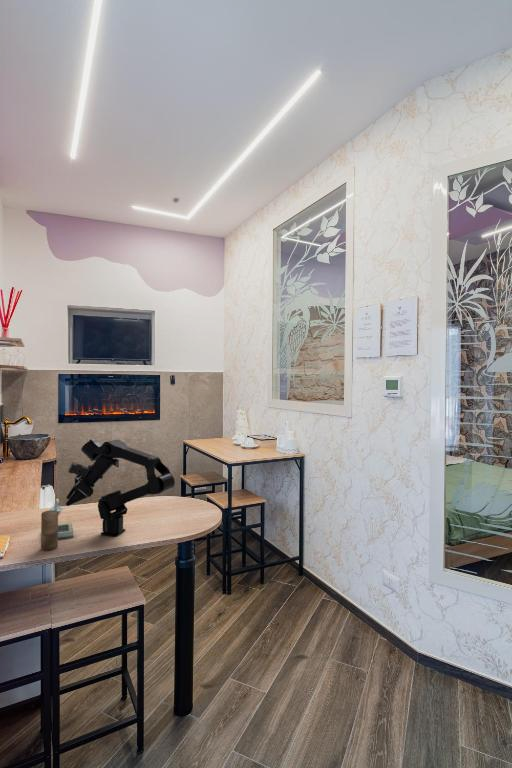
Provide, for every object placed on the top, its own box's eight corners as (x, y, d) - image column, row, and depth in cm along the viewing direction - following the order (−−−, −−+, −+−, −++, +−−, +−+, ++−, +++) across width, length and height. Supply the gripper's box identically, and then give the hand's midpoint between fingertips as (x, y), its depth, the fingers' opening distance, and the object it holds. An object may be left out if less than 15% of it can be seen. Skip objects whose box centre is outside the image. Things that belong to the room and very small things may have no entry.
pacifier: (43, 517, 173) (59, 516, 175) (43, 502, 173) (59, 501, 174) (47, 511, 180) (63, 510, 182) (47, 497, 180) (62, 495, 182)
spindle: (60, 546, 146) (61, 511, 145) (50, 551, 141) (51, 515, 141) (47, 544, 147) (48, 509, 147) (37, 550, 142) (38, 514, 142)
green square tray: (72, 527, 162) (72, 522, 162) (73, 537, 153) (73, 531, 153) (42, 531, 158) (43, 526, 158) (42, 541, 149) (42, 535, 149)
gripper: (81, 450, 165) (50, 481, 161) (82, 458, 148) (47, 494, 144) (103, 469, 169) (73, 500, 165) (106, 479, 151) (73, 514, 147)
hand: (66, 501), depth 155 cm, fingers open, 9 cm apart
